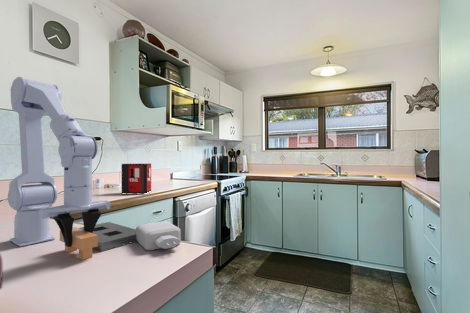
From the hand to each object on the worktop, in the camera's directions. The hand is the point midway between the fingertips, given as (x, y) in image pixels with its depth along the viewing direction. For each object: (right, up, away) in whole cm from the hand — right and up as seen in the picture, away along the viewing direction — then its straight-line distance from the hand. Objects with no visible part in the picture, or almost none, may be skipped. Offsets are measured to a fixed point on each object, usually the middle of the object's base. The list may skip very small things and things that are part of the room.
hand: (78, 243), depth 61 cm
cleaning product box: (-29, -4, +112) cm, 115 cm away
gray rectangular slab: (0, -3, +12) cm, 12 cm away
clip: (0, -2, 0) cm, 2 cm away
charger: (+18, -3, +5) cm, 19 cm away
